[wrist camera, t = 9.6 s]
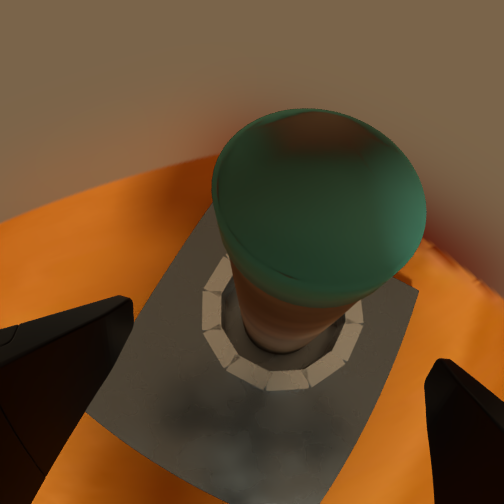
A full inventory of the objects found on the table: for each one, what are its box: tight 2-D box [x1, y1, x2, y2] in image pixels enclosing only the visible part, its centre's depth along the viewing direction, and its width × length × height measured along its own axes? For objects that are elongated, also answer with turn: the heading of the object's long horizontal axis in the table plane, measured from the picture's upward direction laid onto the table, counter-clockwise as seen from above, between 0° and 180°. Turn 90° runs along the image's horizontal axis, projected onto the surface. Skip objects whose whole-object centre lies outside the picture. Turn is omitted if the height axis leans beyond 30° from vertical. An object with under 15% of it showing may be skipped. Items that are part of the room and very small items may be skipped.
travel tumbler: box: [212, 109, 426, 355], centre depth 12 cm, size 5×5×13 cm
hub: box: [85, 203, 419, 504], centre depth 17 cm, size 15×17×3 cm
